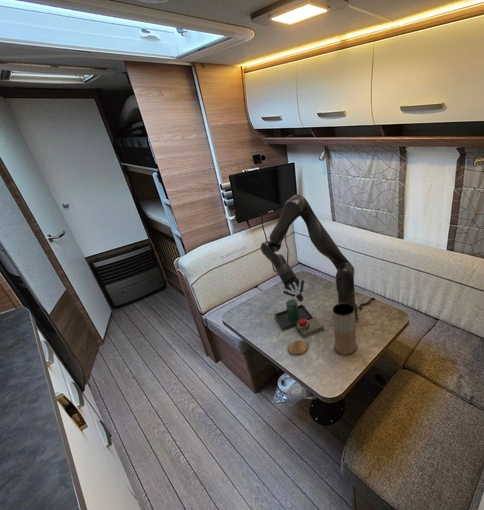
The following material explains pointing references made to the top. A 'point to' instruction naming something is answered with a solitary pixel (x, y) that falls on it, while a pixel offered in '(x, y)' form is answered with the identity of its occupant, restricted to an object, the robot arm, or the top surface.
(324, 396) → the top surface
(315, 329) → the box
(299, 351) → the trivet
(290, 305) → the green peg
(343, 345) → the planter
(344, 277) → the robot arm
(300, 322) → the stop button
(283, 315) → the baking tray
